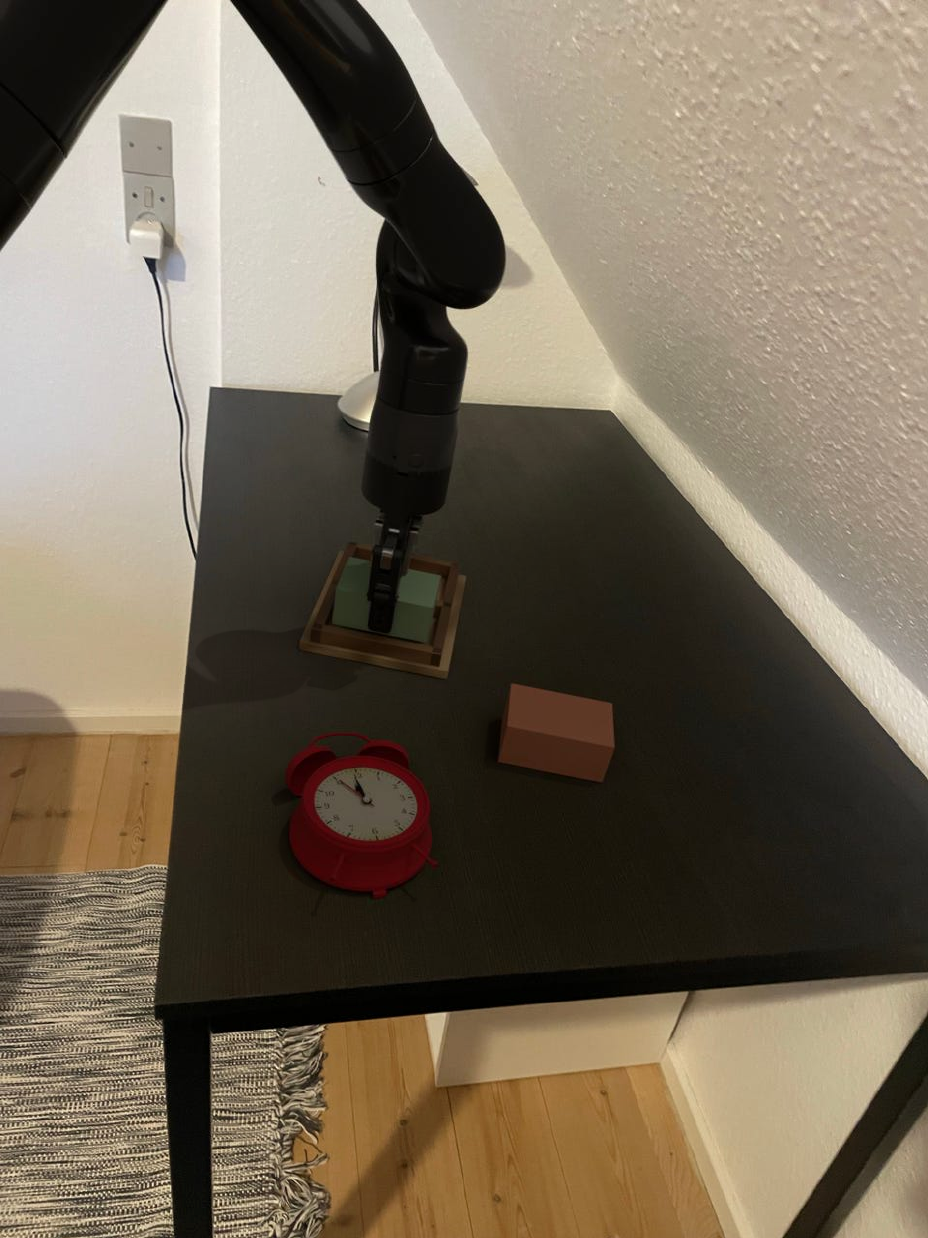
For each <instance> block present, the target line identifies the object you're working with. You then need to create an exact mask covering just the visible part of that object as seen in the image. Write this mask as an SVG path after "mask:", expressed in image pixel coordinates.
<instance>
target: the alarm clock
mask: <svg viewBox="0 0 928 1238" xmlns="http://www.w3.org/2000/svg"><path fill="white" fill-rule="evenodd" d="M338 736H349V737H351V736H352V737H356V738H361V739H362V740H365V741H366V742H367V743H365V744H364V745H362V746H361V748H360V749H359V751H358V753H357V754H356V755H352V756H351V755H350V756H345V757H339V758H337V754H336V753H335V752H334V751H333V750H332V749H331V748H330V747H328V746H325V745H314V744H315V743H317V742H318V741H320V740H323V739H327V738H330V737H338ZM409 769H410V759H409V754H408V753H407V751H406V749H405V748H403V746H401V745H400V744H398V743H396V742H394V741H391V740H387V739H375V740H371V739H370V738H369V737H368V736H366V735H363V734H361V733H357V732H347V731H340V732H331V733H325V734H322V735H318V736H316V737H315V738H313V739H311V741H310V742H309V744H308V747H306V748H304V749H302V750H301V751H299V752H298V753H296V754H295V755H294V756H293V757H292V758H291V760H290V761H289V762H288V764H287V767H286V769H285V783H286V786H287V788H288V789H289V791H290V792H291V793H292V794H293V795H295V796H300V803H299V804H298V806H297V807H296V808H295V810H294V812H293V814H292V816H291V818H290V822H289V829H288V830H289V831H288V839H289V844H290V847H291V851H292V854H293V855H294V856H295V859H296V860H297V861H298V863H299V864H300V865H301V867H303V868H304V869H305V870H306V871H307V872H308V873H310V875H312V876H313V877H315V878H317V879H318V880H320V881H321V882H323V883H326V884H327V885H330V886H334V887H335V888H339V889H343V890H348V891H354V892H372V895H373V896H372V899H373V900H374V899H381V898H386V897H387V894H388V891H387V890H386V889H391V888H394V887H397V886H399V885H401V884H403V883H405V882H407V881H409V880H410V879H412V878H413V877H414V876H415V875H417V874H418V873H419V872H420V871H421V870H422V869H423V867H424V866H425V865H426V863H427V861H428V862H429V863H430V864H431V868H432V869H436V868H437V867H438V866H439V863H438V862H437V861H436V860H434V861H433V859H432V858H431V857H429V856H430V854H431V849H432V844H433V833H432V828H431V825H430V822H429V821H430V816H431V803H430V799H429V794H428V792H427V789H426V787H425V786H424V784H423V783H422V782H421V780H420V779H419V778H418V777H417V776H416V775H415V774H414V773H412V771H410V770H409Z"/></svg>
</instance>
